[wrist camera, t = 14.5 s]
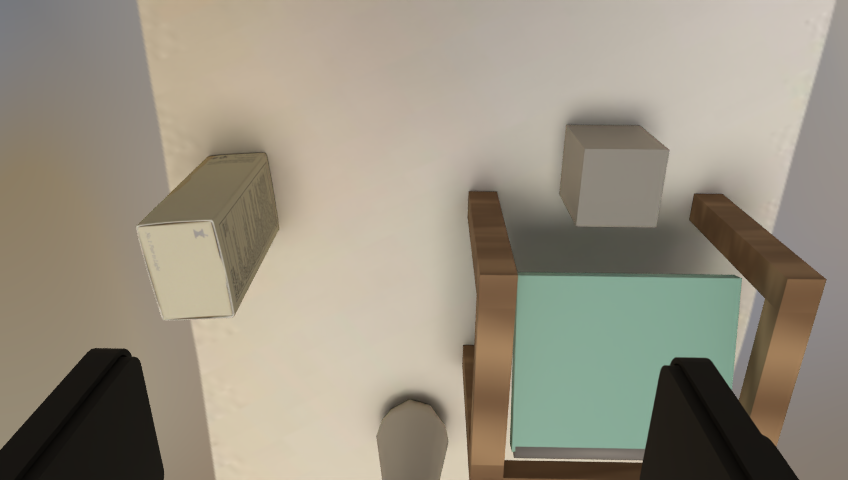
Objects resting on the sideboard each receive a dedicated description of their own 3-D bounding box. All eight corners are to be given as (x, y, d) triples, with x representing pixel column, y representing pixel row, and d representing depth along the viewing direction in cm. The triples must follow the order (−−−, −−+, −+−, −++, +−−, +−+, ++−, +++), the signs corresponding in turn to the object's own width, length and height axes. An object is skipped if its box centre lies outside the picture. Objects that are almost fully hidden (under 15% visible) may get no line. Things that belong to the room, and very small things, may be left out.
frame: (468, 191, 45) (479, 275, 33) (722, 194, 44) (826, 279, 33) (462, 366, 51) (469, 489, 39) (685, 369, 51) (761, 495, 39)
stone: (576, 226, 39) (559, 193, 45) (656, 227, 39) (629, 194, 45) (584, 148, 37) (565, 124, 43) (669, 149, 37) (639, 125, 43)
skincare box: (207, 154, 44) (129, 220, 33) (269, 151, 44) (213, 216, 33) (224, 236, 47) (157, 323, 35) (283, 233, 46) (235, 319, 35)
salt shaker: (433, 383, 52) (433, 509, 40) (457, 434, 54) (463, 569, 42) (368, 403, 53) (348, 532, 41) (393, 452, 55) (382, 589, 43)
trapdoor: (515, 271, 38) (518, 275, 37) (732, 274, 38) (742, 278, 36) (509, 451, 40) (511, 461, 38) (717, 455, 39) (725, 465, 38)
